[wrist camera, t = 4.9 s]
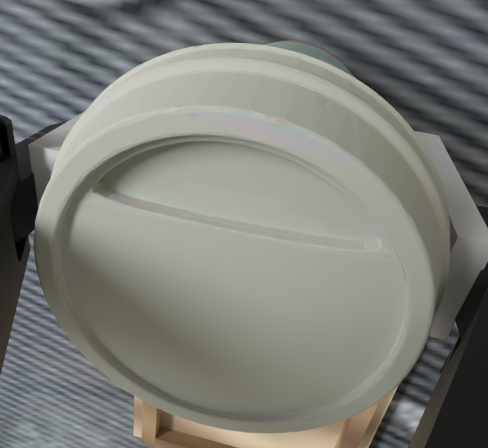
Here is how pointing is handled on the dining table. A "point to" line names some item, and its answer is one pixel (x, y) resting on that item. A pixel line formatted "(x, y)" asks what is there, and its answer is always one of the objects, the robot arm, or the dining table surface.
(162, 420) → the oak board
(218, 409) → the coffee cup
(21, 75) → the dining table surface
